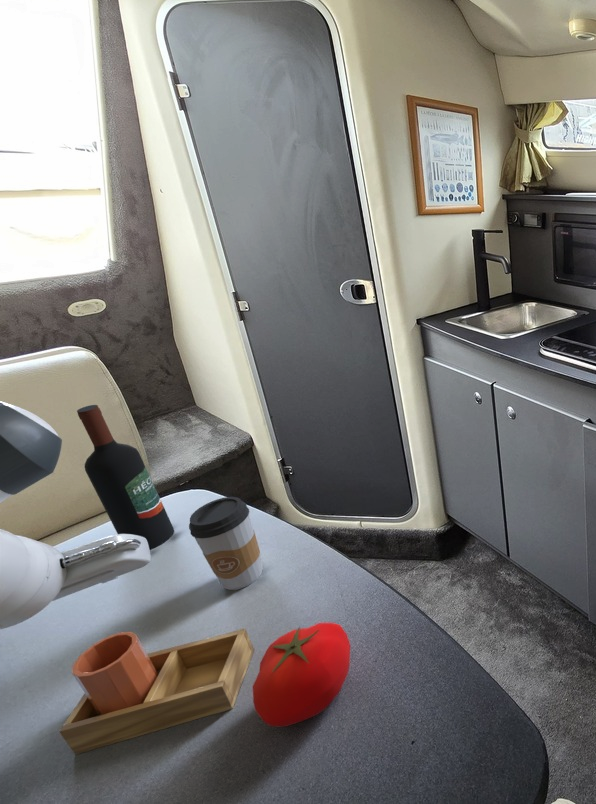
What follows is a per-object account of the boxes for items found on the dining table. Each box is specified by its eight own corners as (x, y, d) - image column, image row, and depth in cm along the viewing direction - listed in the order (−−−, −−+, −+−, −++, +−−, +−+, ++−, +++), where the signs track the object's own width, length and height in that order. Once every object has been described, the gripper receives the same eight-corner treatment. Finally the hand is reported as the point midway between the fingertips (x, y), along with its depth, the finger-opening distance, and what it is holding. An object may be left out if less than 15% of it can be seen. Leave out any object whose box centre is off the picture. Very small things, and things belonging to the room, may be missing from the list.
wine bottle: (138, 531, 102) (75, 403, 91) (181, 522, 104) (124, 396, 93) (117, 557, 95) (46, 422, 84) (163, 547, 97) (100, 414, 86)
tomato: (377, 664, 73) (362, 613, 69) (302, 757, 62) (279, 703, 58) (320, 643, 76) (302, 593, 72) (240, 727, 65) (214, 673, 61)
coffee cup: (206, 601, 85) (175, 532, 79) (227, 565, 92) (199, 500, 87) (261, 589, 87) (234, 521, 81) (276, 555, 94) (252, 490, 89)
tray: (232, 708, 68) (221, 686, 66) (74, 755, 63) (58, 732, 61) (254, 649, 76) (245, 628, 74) (116, 686, 71) (103, 664, 69)
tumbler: (93, 735, 64) (59, 683, 61) (121, 689, 70) (91, 639, 66) (150, 719, 66) (120, 667, 62) (172, 675, 72) (146, 625, 68)
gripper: (126, 512, 59) (159, 532, 70) (-157, 605, 47) (-64, 611, 58) (137, 563, 57) (169, 575, 68) (-152, 671, 46) (-58, 665, 57)
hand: (60, 593), depth 63 cm, fingers open, 8 cm apart
